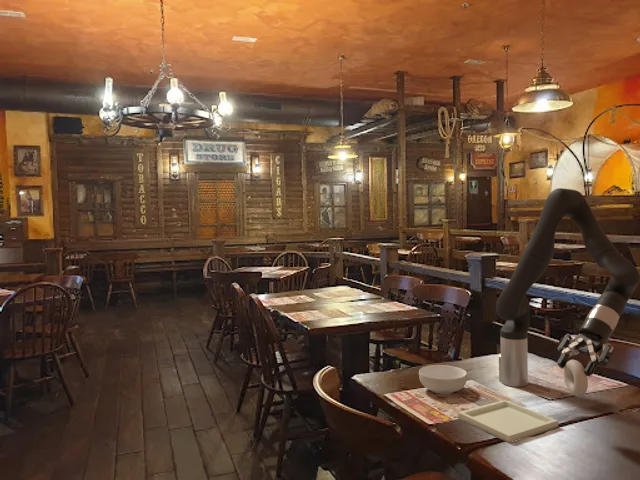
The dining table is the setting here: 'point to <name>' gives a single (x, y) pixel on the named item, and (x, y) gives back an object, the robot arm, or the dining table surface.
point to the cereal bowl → (442, 378)
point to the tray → (508, 420)
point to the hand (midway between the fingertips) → (573, 370)
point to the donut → (575, 378)
